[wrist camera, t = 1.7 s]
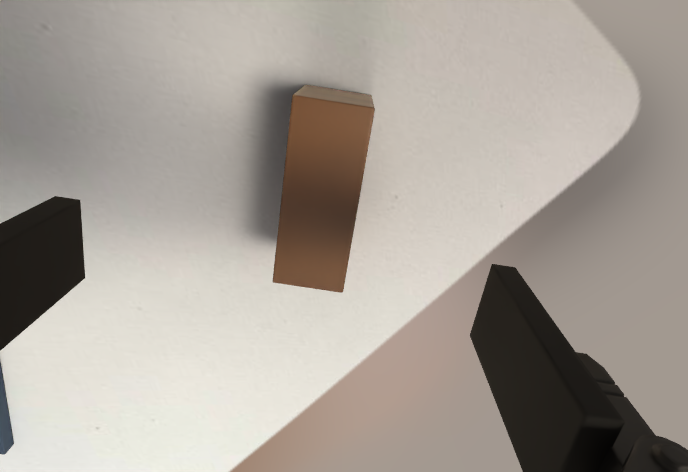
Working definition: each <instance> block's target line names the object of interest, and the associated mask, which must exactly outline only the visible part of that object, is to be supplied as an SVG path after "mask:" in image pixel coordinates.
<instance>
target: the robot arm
mask: <svg viewBox="0 0 688 472" xmlns="http://www.w3.org/2000/svg"><path fill="white" fill-rule="evenodd" d="M84 278H85V269H84V253H83V237H82V221H81V205H80V200H77V199H70V198H64V197H57V196H55V197H53V198H51V199H49V200H47V201H45V202H43V203H41V204H39V205H37V206H35V207H33V208H31V209H29V210H27V211H25V212H23V213H21V214H19V215H17V216H15V217H13V218H11V219H9V220H7V221H5V222H3V223H1V224H0V350H1V349H3V348H4V347H5V346H6V345H7V344H8V343H10V342H11V341H12V340H13V339H14V338H15V337H17V336H18V335H19V334H20V333H21V332H22V331H24V330H25V329H26V328H27V327H28V326H29V325H31V324H32V323H33V322H34V321H35V320H36V319H38V318H39V317H40V316H41V315H42V314H43V313H45V312H46V311H47V310H48V309H49V308H50V307H52V306H53V305H54V304H55V303H56V302H57V301H59V300H60V299H61V298H62V297H63V296H64V295H66V294H67V293H68V292H69V291H70V290H71V289H73V288H74V287H75V286H76V285H77V284H78V283H80V282H81V281H82V280H83V279H84ZM470 337H471V340H472V342H473V345H474V347H475V350H476V352H477V355H478V357H479V360H480V363H481V365H482V368H483V370H484V373H485V375H486V378H487V380H488V383H489V386H490V388H491V391H492V393H493V396H494V399H495V401H496V403H497V406H498V409H499V411H500V414H501V417H502V419H503V422H504V424H505V427H506V429H507V432H508V434H509V437H510V439H511V442H512V444H513V447H514V450H515V453H516V455H517V458H518V460H519V462H520V465H521V468H522V470H523V472H688V450H687V449H685V448H683V447H682V446H681V445H679V444H677V443H675V442H673V441H670V440H668V439H666V438H663V437H659V436H656V435H655V434H654V433H653V432H652V430H651V429H650V428H649V426H648V425H647V424H646V422H645V421H644V420H643V419H642V417H641V416H640V415H639V413H638V412H637V411H636V409H635V408H634V407H633V405H632V404H631V403H630V401H629V400H628V399H627V398H626V397H624V394H623V392H622V391H621V390H620V389H619V387H618V386H617V385H615V382H614V380H613V379H612V378H611V377H610V376H609V374H608V373H607V371H606V370H605V369H604V368H603V367H602V366H601V365H600V364H598V363H597V362H596V361H595V360H593V359H592V358H591V357H590V356H588V355H587V354H583V353H577V352H575V351H574V349H573V348H572V347H571V345H570V344H569V342H568V341H567V340H566V338H565V337H564V335H563V334H562V333H561V331H560V330H559V328H558V327H557V326H556V324H555V323H554V321H553V320H552V318H551V317H550V316H549V314H548V313H547V312H546V310H545V309H544V307H543V306H542V304H541V303H540V302H539V300H538V299H537V297H536V296H535V295H534V293H533V292H532V290H531V289H530V288H529V286H528V285H527V283H526V282H525V281H524V279H523V278H522V276H521V275H520V274H519V273H518V271H517V269H516V268H515V267H509V266H502V265H495V264H492V266H491V269H490V272H489V275H488V278H487V282H486V285H485V288H484V292H483V295H482V298H481V301H480V304H479V307H478V311H477V314H476V317H475V320H474V324H473V327H472V330H471V333H470Z"/></svg>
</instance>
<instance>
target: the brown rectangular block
mask: <svg viewBox="0 0 688 472" xmlns="http://www.w3.org/2000/svg"><path fill="white" fill-rule="evenodd" d="M374 111H375V108H374V104H373V100H372V96H371V95H367V94H361V93H354V92H348V91H342V90H336V89H330V88H324V87H318V86H311V85H305V86H303V87H302V88H301V89H300V90H298V91H297V92H296V93H295V94H293V96H292V104H291V113H290V122H289V132H288V141H287V151H286V160H285V170H284V179H283V189H282V198H281V207H280V217H279V226H278V236H277V245H276V255H275V264H274V274H273V282H274V283H281V284H288V285H294V286H301V287H308V288H315V289H321V290H328V291H335V292H343V289H344V283H345V277H346V272H347V266H348V260H349V254H350V249H351V243H352V237H353V231H354V226H355V220H356V214H357V208H358V203H359V197H360V191H361V185H362V180H363V174H364V168H365V162H366V157H367V151H368V145H369V139H370V134H371V128H372V122H373V116H374Z"/></svg>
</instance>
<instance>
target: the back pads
mask: <svg viewBox="0 0 688 472" xmlns="http://www.w3.org/2000/svg"><path fill="white" fill-rule="evenodd" d="M13 444H14V443H13V437H12V431H11V425H10V418H9V412H8V406H7V400H6V394H5V388H4V382H3V376H2V370H1V364H0V454H6V452H7V451H8V450H9V449H10V448H11V447H12V445H13Z"/></svg>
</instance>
